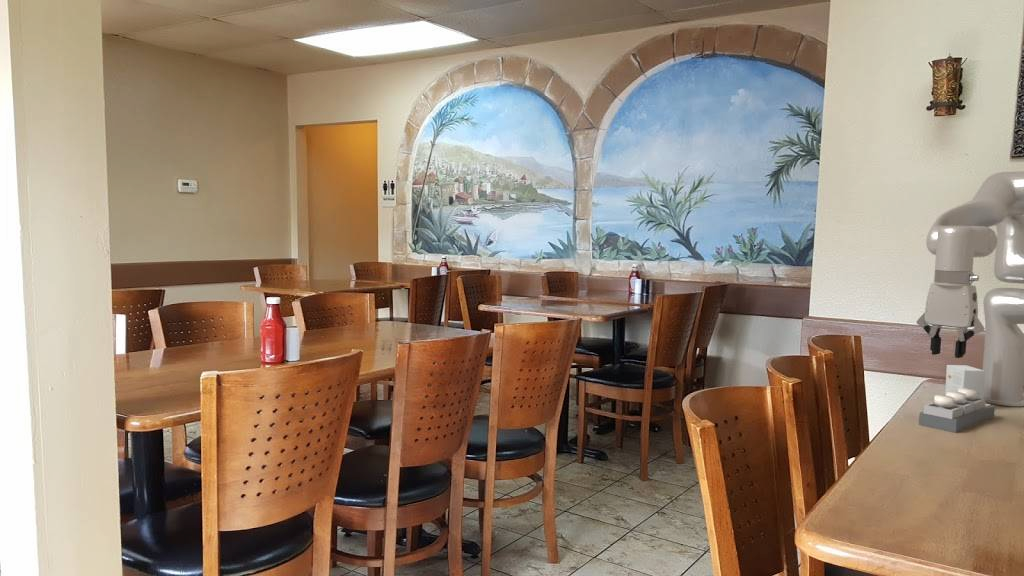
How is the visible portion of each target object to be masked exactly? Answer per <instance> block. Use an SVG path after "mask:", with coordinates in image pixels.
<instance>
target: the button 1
mask: <svg viewBox="0 0 1024 576" xmlns="http://www.w3.org/2000/svg"><path fill="white" fill-rule="evenodd" d="M933 399H934V401H933V402H934V405H936V406H941V407H954V398H953V397H950V396H945V394H935V395H934V398H933Z"/></svg>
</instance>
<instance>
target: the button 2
mask: <svg viewBox="0 0 1024 576" xmlns="http://www.w3.org/2000/svg"><path fill="white" fill-rule="evenodd" d="M958 392H961V393H964V394H966V399H970V400H975V399H976V398H977V390H974V389H968V388H958Z"/></svg>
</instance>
